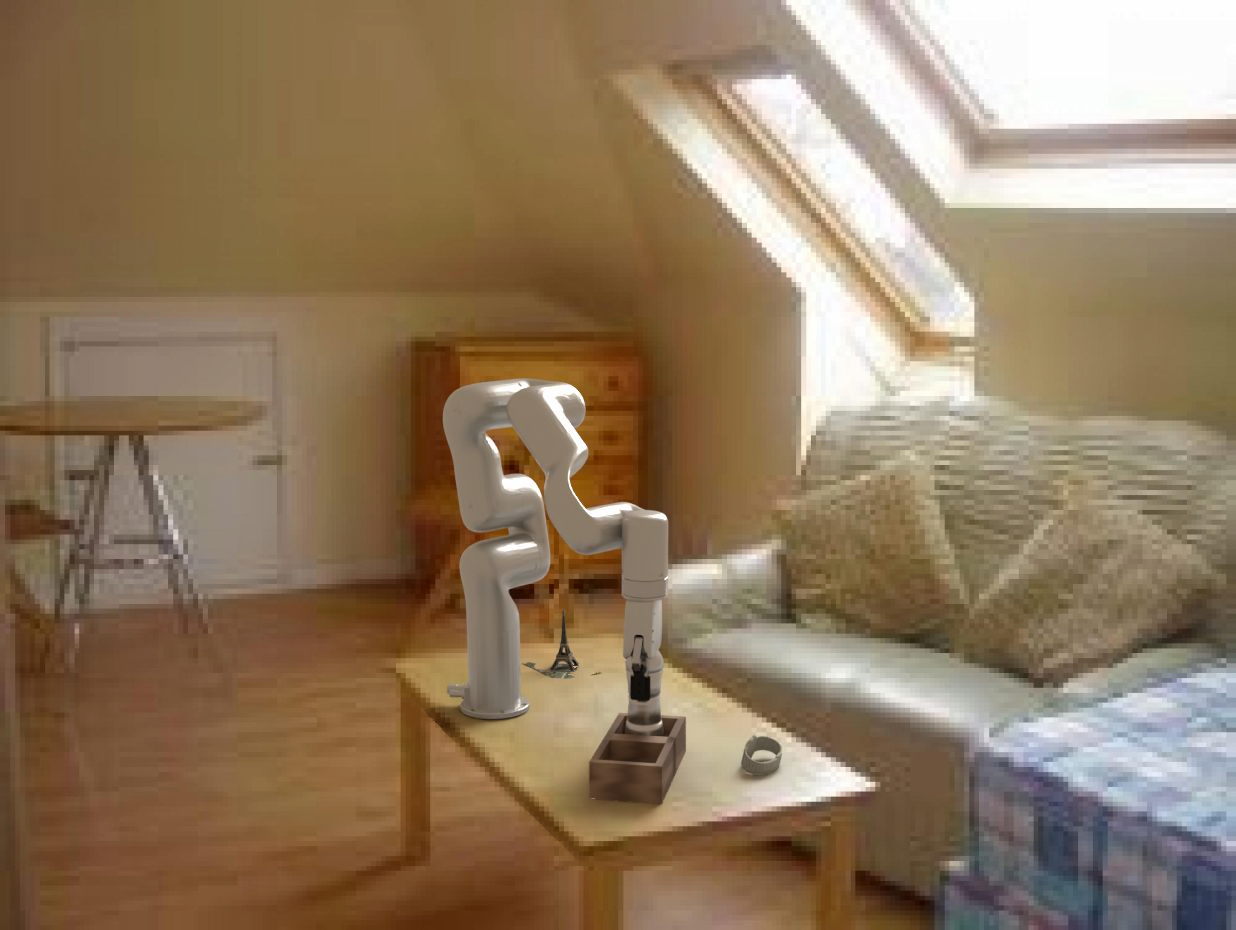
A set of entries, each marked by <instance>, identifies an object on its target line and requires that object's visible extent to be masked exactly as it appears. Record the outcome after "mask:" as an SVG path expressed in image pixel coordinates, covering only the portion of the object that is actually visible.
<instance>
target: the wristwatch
mask: <svg viewBox="0 0 1236 930" xmlns="http://www.w3.org/2000/svg"><path fill="white" fill-rule="evenodd" d="M759 751H765V752H766V751H767V752H770V753H772V754H774V755H775V756H774V758H773V759H771V760H770V759H769V760H768V761H762V762H760V761H757V760H755V759H753V756H754V754H755V752H759ZM782 751H783V747H782V744H781V743H780V742H779V741H778V740H777V739H775V738H772V737H771V736H770V737H769V736H765V735H759V736H757V735H755V734H753V735H752V736H751V737H750V738H749V739H748V740H747V741H746V743H745V745H744V750H743V752H742V753H743V754H742V757H741V758H742V759H741V762H740V765H741V769H742V770H743V771H744V772H746V773H748V774H751V775H754V776H762V775H767V774H770V773H772V772H774V771H775V770H777V769H778V768H779V767H780V766H781V760H782V755H783V753H782Z"/></svg>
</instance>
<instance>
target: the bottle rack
mask: <svg viewBox="0 0 1236 930" xmlns="http://www.w3.org/2000/svg"><path fill="white" fill-rule="evenodd" d="M627 715H628V712H627V713H626V712H618V713H617V715H616V717H615V718H614V720H613V722H612V724H611V725H610V727H609V729H608V730H607V732H606V734H605V735H604V737H603V739H602V740H601V742H600V744H599V745H598V747H597V748H596V750H595V752H594V754H592V757H591V758H590V759H589V760H588V761H589V762H588V769H589V770H588V773H589V774H588V775H589V776H588V777H589V781H588V782H589V785H588V786H589V791H588V792H589V799H590V798H595V799H594V800H599V799H604V800H603V801H614V800H618V801H617V802H628V801H631V803H642V802H643V803H645V804H656V805H657V804H660V805H662V804H663V803H664V801H663V800H665V799H664V798H666V797H667V793H668V791H669V789H670V787H671V785H672V783H673V781H674V778H675V776H676V774H677V771H678V770H679V767H680V765H681V763H682V761H683V758H684V756H685V753H687V732H686V731H687V726H686V725H687V717H686V716H683V715H681V716H680V715H679V716H678V715H666V714H665V715H663V714H661V719H662V723H663V730H664V735H663V736H646V735H630V734H625V726H626V721H627ZM671 782H672V783H671Z"/></svg>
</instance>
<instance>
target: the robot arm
mask: <svg viewBox="0 0 1236 930" xmlns="http://www.w3.org/2000/svg"><path fill="white" fill-rule="evenodd" d="M586 412H587V411H586V402H585V401H584V397H583V395H582V394H581V393H580V392H579V391H578V389H577V388H576V387H574V386H573V385H572V384H569V383H566V382H561V381H553V380H544V379H536V378H524V377H523V378H522V377H521V378H511V379H501V380H494V381H493V380H492V381H490V380H489V381H481V382H476V383H471V384H467V385H463V386H461V387H459V388H457V389H456V390H454V391H453V392H452V393H451V394H450V395H449V396H448V397H447V399H446V401H445V403H444V407H443V412H442V425H443V430H444V434H445V437H446V441H447V444H448V447H449V450H450V453H451V457H452V462H453V469H454V477H455V478H454V479H455V485H456V491H457V498H458V505H459V512H460V517H461V520H462V523H463V525H464V526H465V528H467V530H469V531H471V532H474V533H488V532H492V531H497V530H503V529H508V535H504V536H503V535H501V536H496V537H492V538H487V539H483V540H480V541H477V542H475V543H473V544H470V545H469V546H468V547H466V549H465V550H464V551H463V552H462V554H461V556H460V559H459V564H458V565H459V574H460V580H461V582H462V588H463V592H464V599H465V600H464V601H465V611H466V617H465V618H466V635H467V636H466V639H467V641H466V642H467V643H466V644H467V669H468V670H467V671H468V672H467V673H468V674H467V675H468V677H467V679H468V682H465V683H464V684H459V683H448V684H447V687H446V691H447V692H446V693H447V694H448V695H449V697H450V698H461V699H462V700H461V702H460V711H461V712H462V714H464V715H466V716H467V717H471V718H475V719H482V720H483V719H484V720H499V719H501V720H502V719H503V720H504V719H509V718H514V717H517V716H520V715H523V714H525V713H526V712H528V710H529V709H530V703H531V702H530V700H529V699H528V697H526V696H525V695H522V685H521V684H522V683H521V674H522V673H521V640H520V639H521V637H520V636H521V632H520V629H521V628H520V626H521V625H520V613H519V610H518V606H517V604H516V603H515V602H514V600H513V598H512V596H511V595H510V591H509V590H510V589H513V588H517V587H521V586H525V585H529V584H534V583H536V582H538V581H541V580H542V579H544V577H545V576H547V574H548V573H549V570H550V566H551V549H550V540H549V533H548V527H547V526H548V525H547V518H546V514H547V516H548V518H549V520H550V522H551V524H552V525H553V526H554V527H553V528H555V530H556V531H557V532H558V534H559V536H560V537H561V539H563V541H564V542H565V543H566V545H567V546H568V547H569V548H570V549H571V550H573V551H574V552H575V553H577V554H580V555H584V556H590V555H592V556H593V555H595V554H600V553H604V552H609V551H614V550H620V549H621V597H622V598H623V599H625V600H626V601H625V608H624V610H625V611H624V624H623V642H622V643H623V644H622V656H623V658H624V659H625V660H626V659H628V657H630V656H631V654H632V665H631V676H630V698H631V699H632V700H642V701H649V700H650V676H649V663H650V660H651V659H652V658H653V657H654V656H655V654H656V651H657V650H659V649H660V647H661V645H662V638H663V637H662V636H663V635H662V634H663V600H664V599H665V600H666V598H668V597H669V519H668V517H667V515H666V514H665V513H663V512H661V511H657V510H651V509H644V508H642V507H639V506H638V505H636V504H633V503H630V502H627V501H620V502H619V501H618V502H614V503H609V504H603V505H596V506H592V507H586V508H585V506H584V505H583V504H582V503H581V501H580V500H579V498H578V496H576V493H575V492H574V491H573V487H572V485H571V481H570V479H571V478H572V477H573V476H574V475H575V474H576V473H577V472H578V471H579V470H581V469H582V467H583V466H584V465H585V464H586V462H587V459H588V457H589V448H588V446H587V445H586V443H585V442H584V441H583V439H582V437H581V436H580V435H579V433H578V432H577V431H576V428H578V427H579V426H581V424H582V423H583V422H584V420H585V418H586ZM505 428H507V429H508V428H513V429H514V431H515V432H516V434H517V435H518V437H519V438H520V440H521V441H522V442H523V444H524V446H525V447H526V448H527V450H528V451H529V453H530V454H531V456H532V457H533V459H534V460H535V462H536V463H537V465H538V466H539V467H540V469H541V470H542V472H543V473H544V476H545V481H544V487H543V494H542V493H541V490H540V488H539V487H538V486H539V485H537V483H536V482H535V480H533V479H532V478H531V477H529V475H528V476H527V475H526V474H523V473H510V474H504V471H503V467H502V459H501V454H500V451H499V449H498V446H497V445H496V444H495V442H494V441H493V439H492V438H491V437H490V436H489V435H488V433H486V432H488V431H491V430H497V429H505ZM542 495H544V496H542ZM543 497H544V498H543ZM545 509H546V512H545ZM643 644H644V645H643ZM642 654H645V655H647V657H646V658H641V656H642ZM642 662H645V667H644V665H643V664H641V663H642ZM644 668H645V669H644Z"/></svg>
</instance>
